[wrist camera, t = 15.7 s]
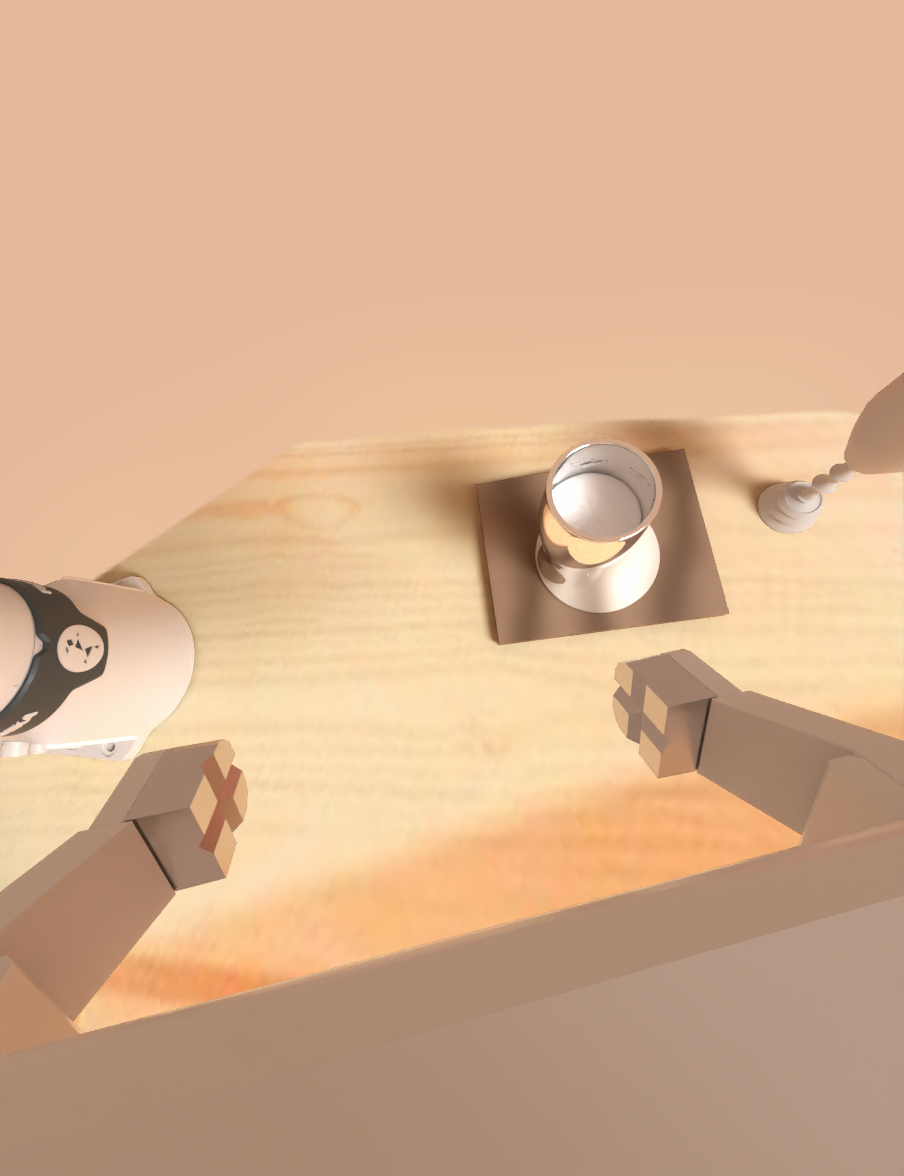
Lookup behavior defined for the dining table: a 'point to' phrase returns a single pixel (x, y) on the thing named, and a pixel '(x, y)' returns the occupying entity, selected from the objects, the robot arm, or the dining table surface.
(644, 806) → the dining table surface
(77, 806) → the dining table surface
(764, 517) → the chalice
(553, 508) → the beer glass
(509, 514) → the walnut board
